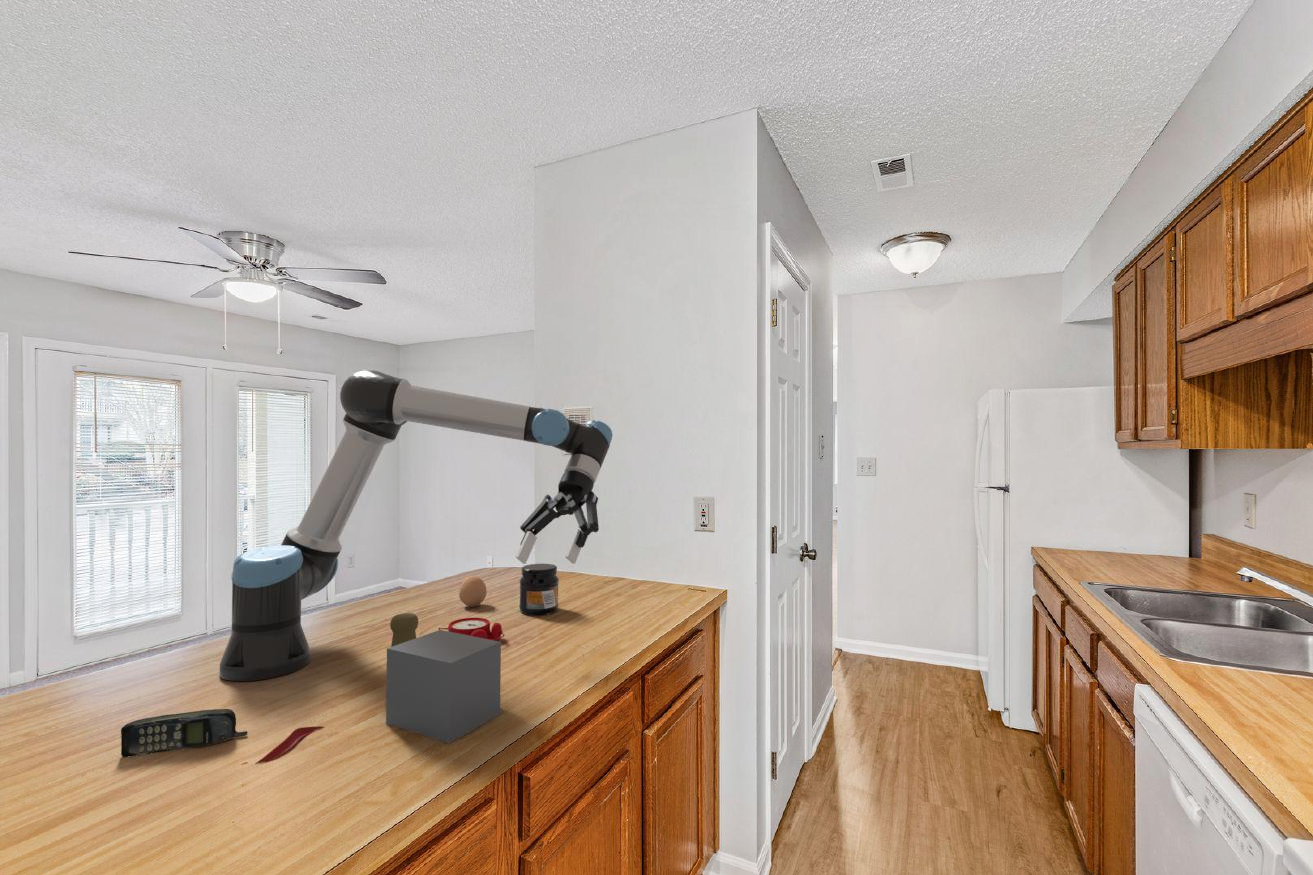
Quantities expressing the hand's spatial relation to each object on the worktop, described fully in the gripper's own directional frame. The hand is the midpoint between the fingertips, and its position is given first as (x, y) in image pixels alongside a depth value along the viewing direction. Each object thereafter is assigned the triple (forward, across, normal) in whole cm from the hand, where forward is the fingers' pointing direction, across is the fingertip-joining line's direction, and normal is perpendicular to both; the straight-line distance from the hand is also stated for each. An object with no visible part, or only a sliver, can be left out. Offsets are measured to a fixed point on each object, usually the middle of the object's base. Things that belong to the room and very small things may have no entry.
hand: (544, 560), depth 122 cm
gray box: (+34, -1, +8) cm, 35 cm away
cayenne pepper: (+44, +12, +22) cm, 51 cm away
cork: (+26, +23, +2) cm, 35 cm away
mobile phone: (+48, +24, +30) cm, 62 cm away
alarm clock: (+14, +25, -13) cm, 31 cm away
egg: (-1, +48, -28) cm, 55 cm away
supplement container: (-4, +29, -34) cm, 45 cm away
